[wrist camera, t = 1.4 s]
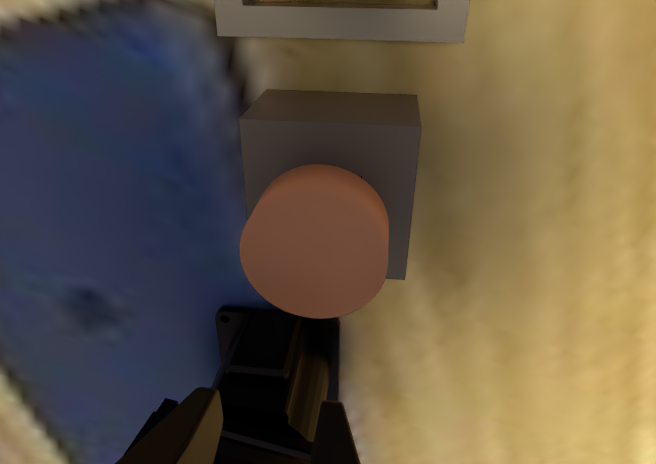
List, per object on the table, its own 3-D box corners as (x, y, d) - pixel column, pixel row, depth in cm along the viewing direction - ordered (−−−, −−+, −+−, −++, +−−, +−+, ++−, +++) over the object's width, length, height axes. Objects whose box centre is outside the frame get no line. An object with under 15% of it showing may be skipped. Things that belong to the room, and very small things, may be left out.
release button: (385, 247, 19) (383, 324, 15) (276, 239, 20) (245, 312, 16) (394, 139, 17) (393, 197, 13) (270, 133, 17) (233, 187, 13)
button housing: (403, 228, 22) (404, 279, 19) (273, 219, 23) (251, 268, 19) (416, 95, 19) (421, 127, 16) (266, 89, 20) (238, 118, 16)
